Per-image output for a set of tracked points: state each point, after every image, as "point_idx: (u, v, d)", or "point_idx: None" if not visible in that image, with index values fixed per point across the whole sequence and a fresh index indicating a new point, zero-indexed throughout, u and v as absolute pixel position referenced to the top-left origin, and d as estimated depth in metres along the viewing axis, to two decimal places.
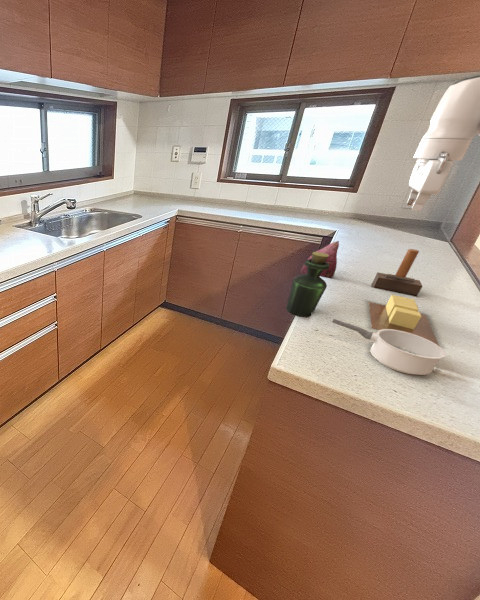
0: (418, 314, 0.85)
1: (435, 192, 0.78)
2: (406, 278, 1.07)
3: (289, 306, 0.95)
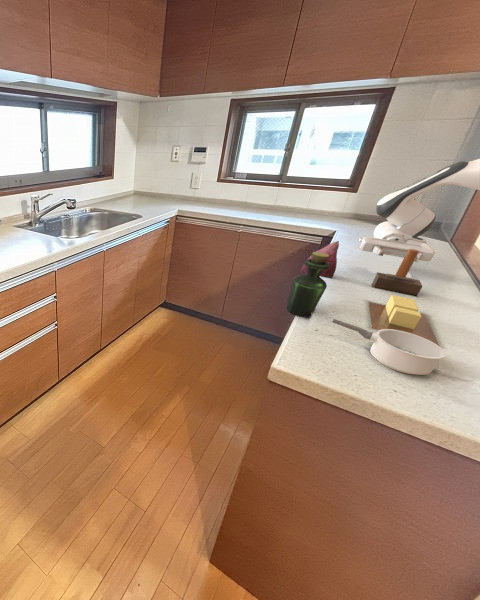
0: (418, 314, 0.85)
1: (364, 242, 1.21)
2: (406, 278, 1.07)
3: (289, 306, 0.95)
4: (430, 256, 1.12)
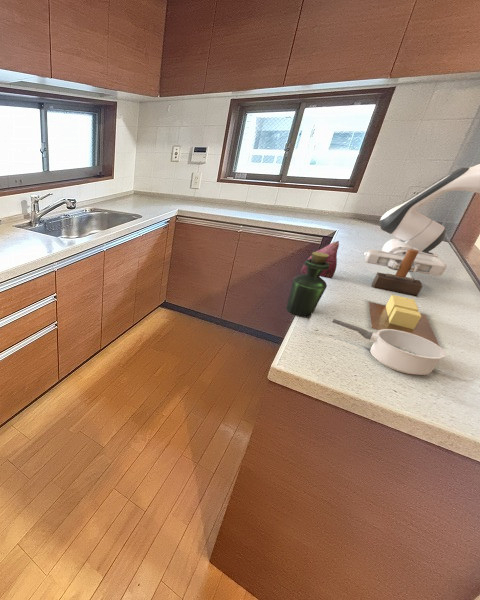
0: (418, 314, 0.85)
1: (368, 254, 1.14)
2: (406, 278, 1.07)
3: (289, 306, 0.95)
4: (441, 270, 1.04)
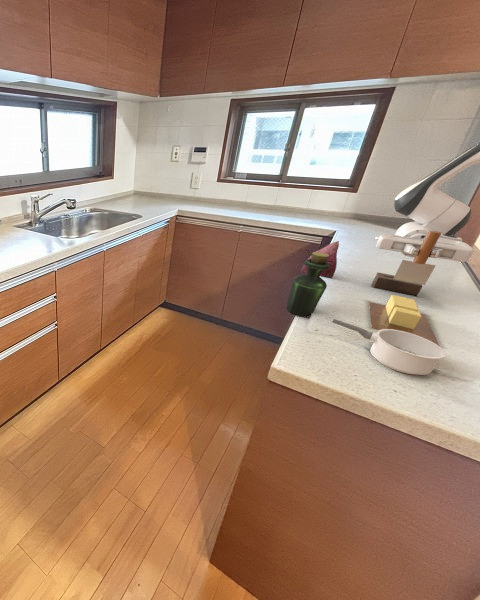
0: (418, 314, 0.85)
1: (380, 239, 0.99)
2: (426, 265, 0.92)
3: (289, 306, 0.95)
4: (467, 255, 0.89)
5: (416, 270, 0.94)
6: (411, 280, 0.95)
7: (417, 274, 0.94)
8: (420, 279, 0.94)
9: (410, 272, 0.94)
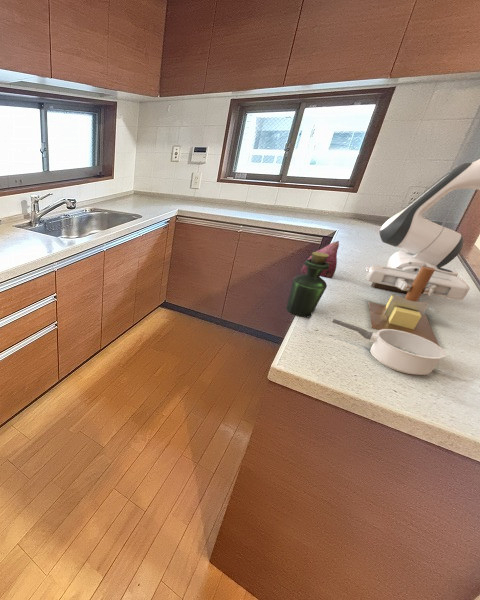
0: (418, 314, 0.85)
1: (370, 271, 0.93)
2: (418, 302, 0.86)
3: (289, 306, 0.95)
4: (463, 292, 0.83)
5: (409, 307, 0.87)
6: None
7: None
8: None
9: None
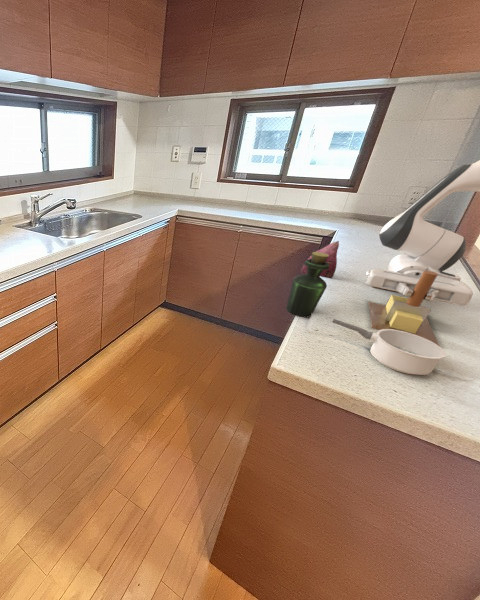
0: (420, 318, 0.83)
1: (371, 275, 0.90)
2: (420, 307, 0.83)
3: (289, 306, 0.95)
4: (467, 298, 0.80)
5: (410, 312, 0.85)
6: None
7: None
8: None
9: None
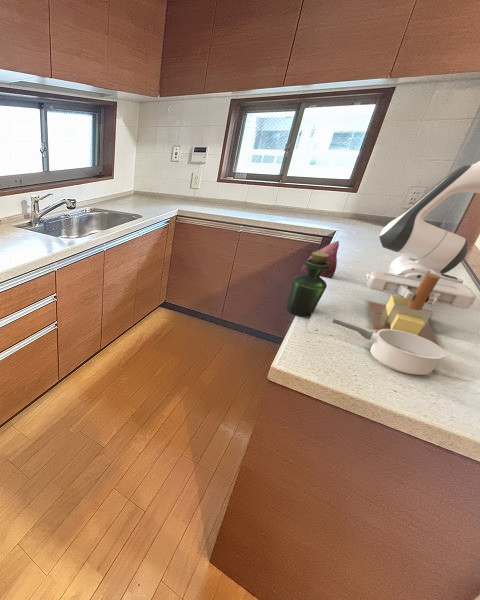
0: (421, 321, 0.81)
1: (371, 278, 0.89)
2: (422, 311, 0.82)
3: (289, 306, 0.95)
4: (469, 301, 0.79)
5: None
6: None
7: None
8: None
9: None
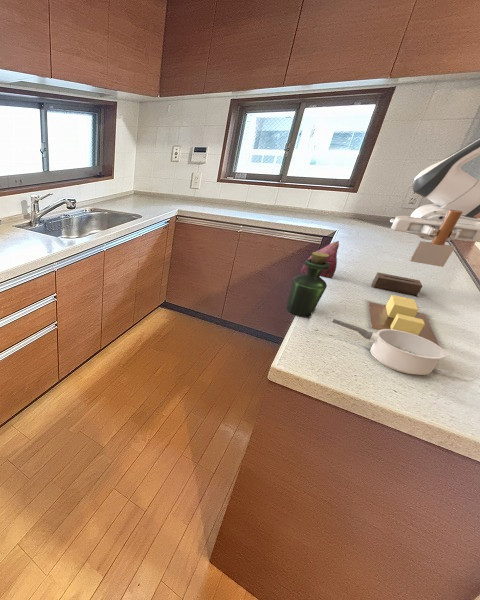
0: (421, 322, 0.81)
1: (396, 220, 0.95)
2: (445, 246, 0.88)
3: (289, 306, 0.95)
4: None
5: (435, 252, 0.90)
6: (429, 262, 0.91)
7: (435, 256, 0.90)
8: (439, 261, 0.90)
9: (428, 254, 0.91)
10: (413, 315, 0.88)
